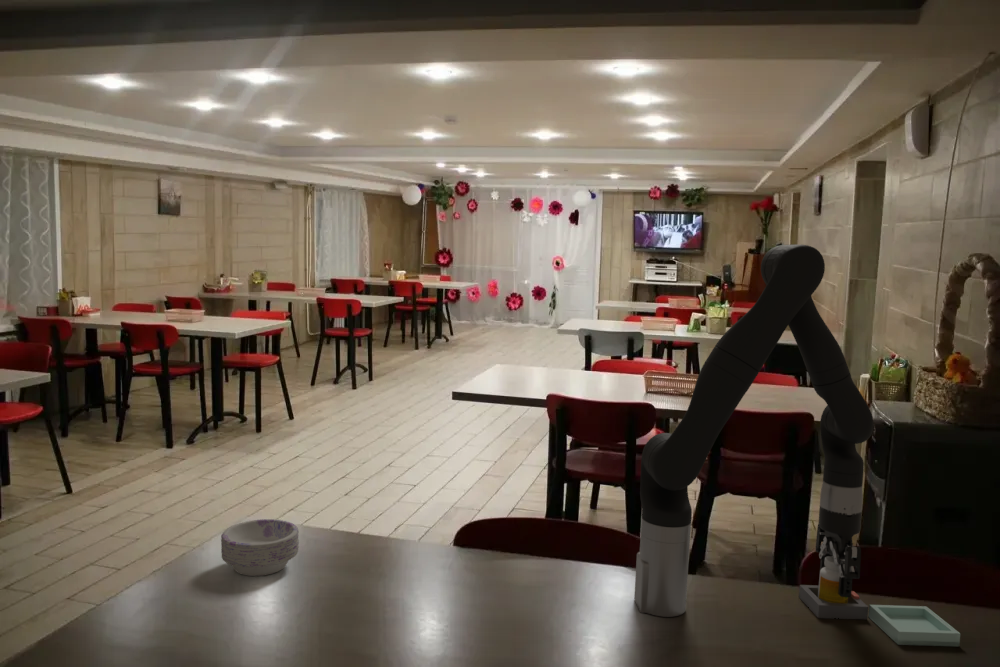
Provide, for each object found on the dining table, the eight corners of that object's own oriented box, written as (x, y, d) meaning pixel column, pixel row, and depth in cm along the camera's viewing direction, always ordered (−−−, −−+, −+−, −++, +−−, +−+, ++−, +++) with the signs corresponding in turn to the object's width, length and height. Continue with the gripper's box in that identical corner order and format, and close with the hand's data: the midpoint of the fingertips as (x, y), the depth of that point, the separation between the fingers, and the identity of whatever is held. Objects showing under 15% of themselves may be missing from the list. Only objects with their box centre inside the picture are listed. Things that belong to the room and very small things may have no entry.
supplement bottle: (849, 615, 153) (853, 566, 152) (820, 612, 154) (823, 563, 153) (843, 603, 158) (847, 556, 157) (814, 600, 159) (818, 553, 158)
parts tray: (897, 644, 142) (899, 631, 141) (868, 616, 153) (869, 604, 152) (959, 646, 142) (960, 633, 142) (925, 618, 153) (926, 606, 153)
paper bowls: (205, 577, 159) (205, 538, 158) (246, 550, 174) (246, 515, 173) (275, 587, 155) (276, 547, 155) (310, 559, 170) (311, 522, 170)
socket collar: (818, 617, 151) (819, 602, 151) (798, 596, 161) (799, 582, 160) (867, 619, 151) (868, 604, 151) (845, 598, 161) (846, 583, 160)
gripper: (806, 494, 161) (801, 572, 163) (837, 517, 147) (831, 602, 148) (843, 495, 161) (837, 572, 163) (878, 518, 147) (871, 603, 149)
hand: (834, 586), depth 156 cm, fingers open, 8 cm apart
